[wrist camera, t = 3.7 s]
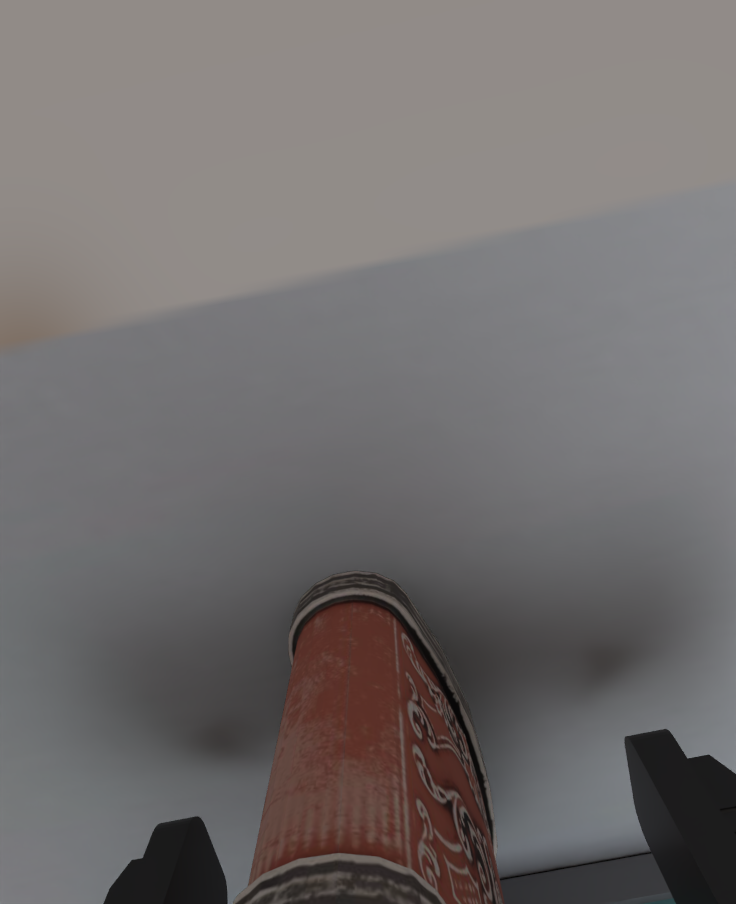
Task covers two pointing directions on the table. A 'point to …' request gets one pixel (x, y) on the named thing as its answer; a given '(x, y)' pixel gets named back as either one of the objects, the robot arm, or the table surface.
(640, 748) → the robot arm
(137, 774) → the table surface
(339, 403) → the table surface
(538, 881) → the shaft cradle
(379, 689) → the lighter
